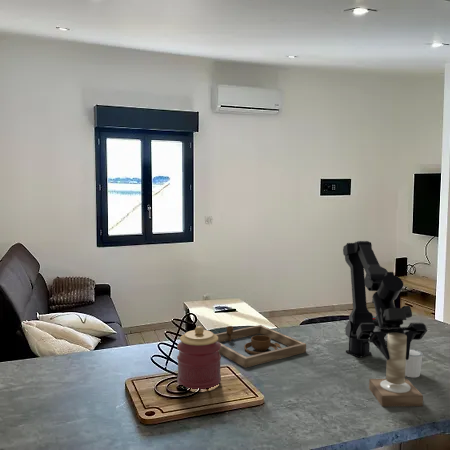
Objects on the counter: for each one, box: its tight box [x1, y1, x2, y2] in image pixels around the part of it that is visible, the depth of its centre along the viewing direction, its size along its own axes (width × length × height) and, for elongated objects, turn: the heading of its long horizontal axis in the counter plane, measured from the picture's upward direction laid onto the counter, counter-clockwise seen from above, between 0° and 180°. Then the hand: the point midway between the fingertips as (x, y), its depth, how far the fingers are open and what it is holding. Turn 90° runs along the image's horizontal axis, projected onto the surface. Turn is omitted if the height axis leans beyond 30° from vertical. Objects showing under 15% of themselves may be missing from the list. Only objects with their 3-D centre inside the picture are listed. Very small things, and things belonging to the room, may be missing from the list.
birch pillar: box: [385, 332, 407, 384], centre depth 134 cm, size 5×5×13 cm
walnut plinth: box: [368, 378, 424, 407], centre depth 135 cm, size 11×11×3 cm
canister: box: [176, 325, 222, 389], centre depth 142 cm, size 13×13×18 cm
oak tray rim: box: [214, 324, 307, 369], centre depth 173 cm, size 26×26×3 cm
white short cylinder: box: [405, 348, 424, 378], centre depth 151 cm, size 7×7×7 cm
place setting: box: [226, 325, 282, 355], centre depth 175 cm, size 18×20×6 cm
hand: (398, 359), depth 132 cm, fingers closed on birch pillar, 5 cm apart
